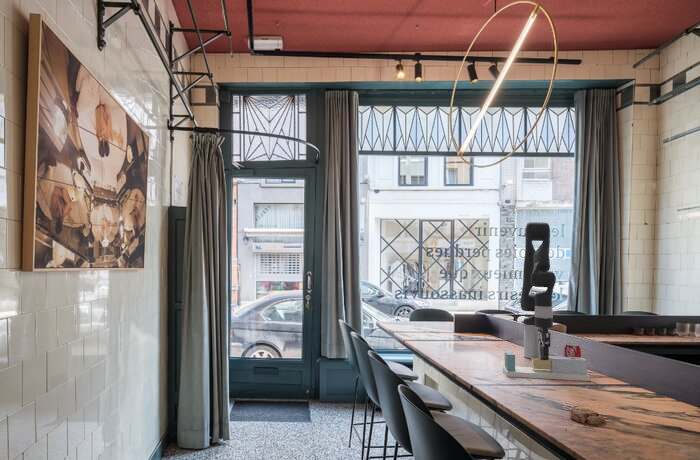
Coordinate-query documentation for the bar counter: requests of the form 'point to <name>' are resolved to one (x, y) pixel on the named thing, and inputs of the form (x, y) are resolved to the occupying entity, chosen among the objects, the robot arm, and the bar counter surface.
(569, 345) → the soda can
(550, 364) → the tan knobbed slider
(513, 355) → the socket
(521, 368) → the board
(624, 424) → the bar counter surface
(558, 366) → the steel sleeve
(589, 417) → the cookie
